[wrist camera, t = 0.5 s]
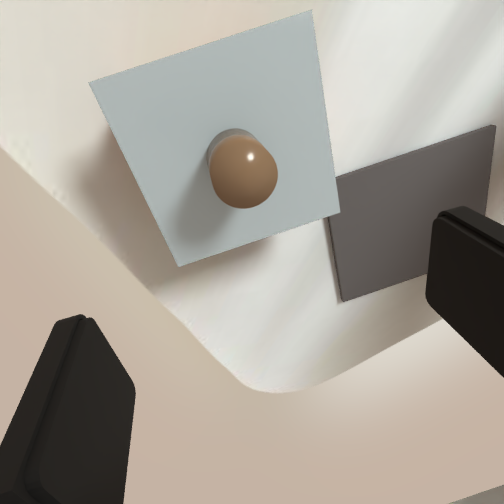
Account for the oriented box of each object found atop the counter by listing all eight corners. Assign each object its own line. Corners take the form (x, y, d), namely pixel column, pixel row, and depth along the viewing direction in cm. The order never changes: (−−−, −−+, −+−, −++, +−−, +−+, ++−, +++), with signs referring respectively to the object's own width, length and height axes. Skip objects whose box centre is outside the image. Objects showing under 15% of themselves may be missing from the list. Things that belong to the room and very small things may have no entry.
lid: (304, 11, 21) (342, -1, 16) (333, 205, 29) (365, 237, 24) (93, 80, 21) (67, 89, 16) (178, 258, 28) (178, 300, 24)
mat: (491, 124, 34) (496, 125, 33) (476, 252, 42) (479, 255, 42) (321, 181, 33) (324, 183, 33) (341, 299, 42) (343, 302, 41)
